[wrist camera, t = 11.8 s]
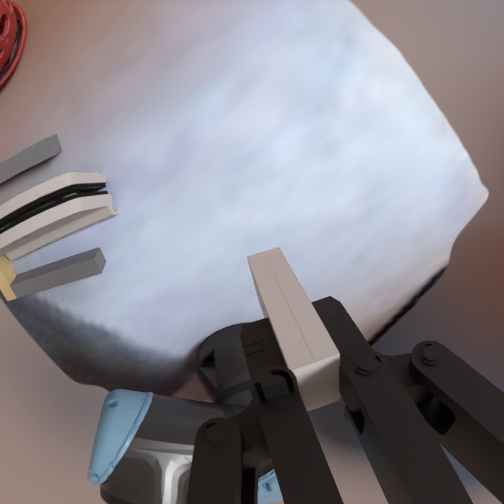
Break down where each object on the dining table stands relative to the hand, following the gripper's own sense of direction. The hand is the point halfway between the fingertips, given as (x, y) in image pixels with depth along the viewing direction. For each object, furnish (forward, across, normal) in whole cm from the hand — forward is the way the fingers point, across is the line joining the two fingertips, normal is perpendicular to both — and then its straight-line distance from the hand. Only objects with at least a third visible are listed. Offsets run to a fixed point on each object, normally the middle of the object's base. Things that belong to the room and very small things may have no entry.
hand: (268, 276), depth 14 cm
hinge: (+21, +20, -3) cm, 29 cm away
